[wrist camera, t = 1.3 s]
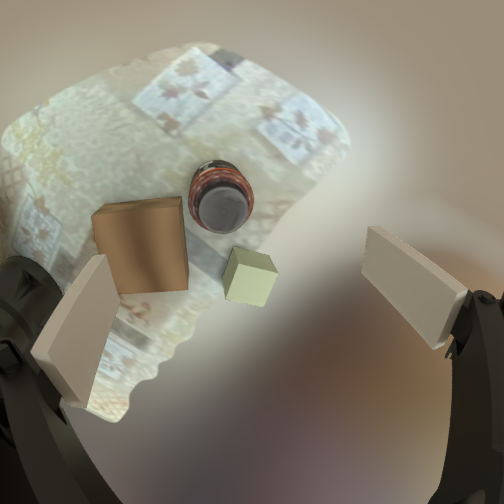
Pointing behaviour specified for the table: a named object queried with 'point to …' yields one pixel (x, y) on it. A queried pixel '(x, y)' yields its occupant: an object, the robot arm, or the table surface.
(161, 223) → the walnut block
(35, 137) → the table surface
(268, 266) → the sage block
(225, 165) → the supplement bottle
